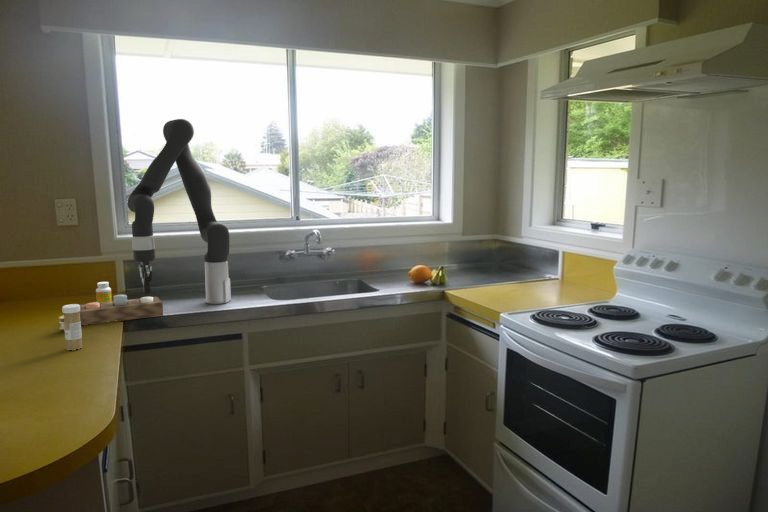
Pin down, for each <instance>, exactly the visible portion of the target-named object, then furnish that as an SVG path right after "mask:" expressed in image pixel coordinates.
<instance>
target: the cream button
mask: <svg viewBox="0 0 768 512" xmlns="http://www.w3.org/2000/svg"><path fill="white" fill-rule="evenodd" d="M153 297H154V296H142V297H140V298H139V299H140V300H141V303H146V302H153Z"/></svg>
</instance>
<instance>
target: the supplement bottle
mask: <svg viewBox="0 0 768 512" xmlns="http://www.w3.org/2000/svg"><path fill="white" fill-rule="evenodd" d="M109 284H110V283H109V281H100V282H97V283H96V286H97V288H96V289H95V295H96V296H95V298H96V302H99V303H103V302H112V301H113V299H112V297H113V296H112V288H111V287H110V286H109Z"/></svg>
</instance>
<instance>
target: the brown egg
mask: <svg viewBox="0 0 768 512" xmlns="http://www.w3.org/2000/svg"><path fill="white" fill-rule="evenodd" d="M85 304H86V309H92V308H100V303H99V302H97V301H93V302H88V303H85Z"/></svg>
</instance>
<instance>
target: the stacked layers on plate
mask: <svg viewBox="0 0 768 512" xmlns="http://www.w3.org/2000/svg"><path fill="white" fill-rule="evenodd" d="M58 319H61V320H59V321H58V323H59V324H60V326H59V328H58V329H59V330H64V314H63V315H60V316H58Z"/></svg>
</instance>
